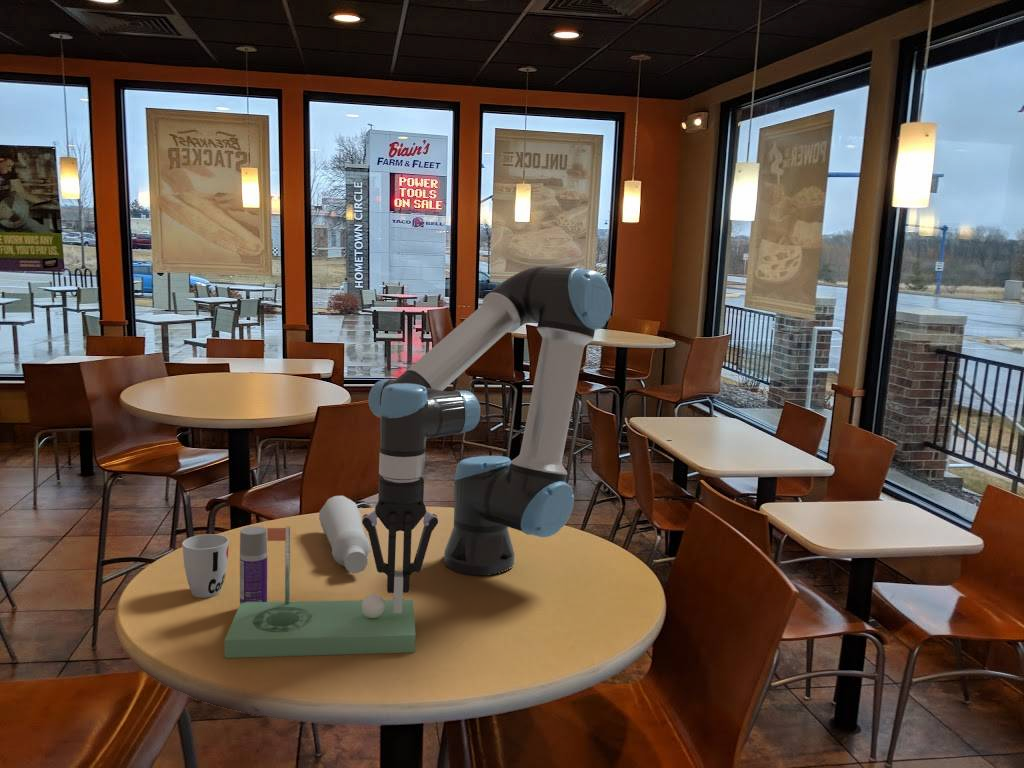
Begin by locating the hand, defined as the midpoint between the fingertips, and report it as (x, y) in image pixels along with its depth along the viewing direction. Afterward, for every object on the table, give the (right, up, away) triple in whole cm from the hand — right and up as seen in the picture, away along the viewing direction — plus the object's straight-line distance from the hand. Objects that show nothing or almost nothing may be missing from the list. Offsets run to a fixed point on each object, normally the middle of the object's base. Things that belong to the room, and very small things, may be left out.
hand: (397, 609), depth 136 cm
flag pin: (-21, 0, +3) cm, 22 cm away
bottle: (-17, +2, +37) cm, 41 cm away
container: (-27, -2, +7) cm, 28 cm away
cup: (-38, -1, +13) cm, 40 cm away
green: (-12, -4, -1) cm, 13 cm away
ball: (-4, +1, -1) cm, 4 cm away
